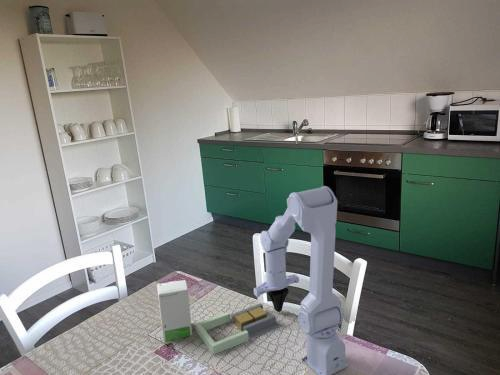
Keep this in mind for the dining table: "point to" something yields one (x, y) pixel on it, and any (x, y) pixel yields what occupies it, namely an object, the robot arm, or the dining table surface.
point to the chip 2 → (257, 314)
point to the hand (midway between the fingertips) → (278, 310)
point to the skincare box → (174, 310)
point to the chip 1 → (243, 320)
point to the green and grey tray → (247, 333)
